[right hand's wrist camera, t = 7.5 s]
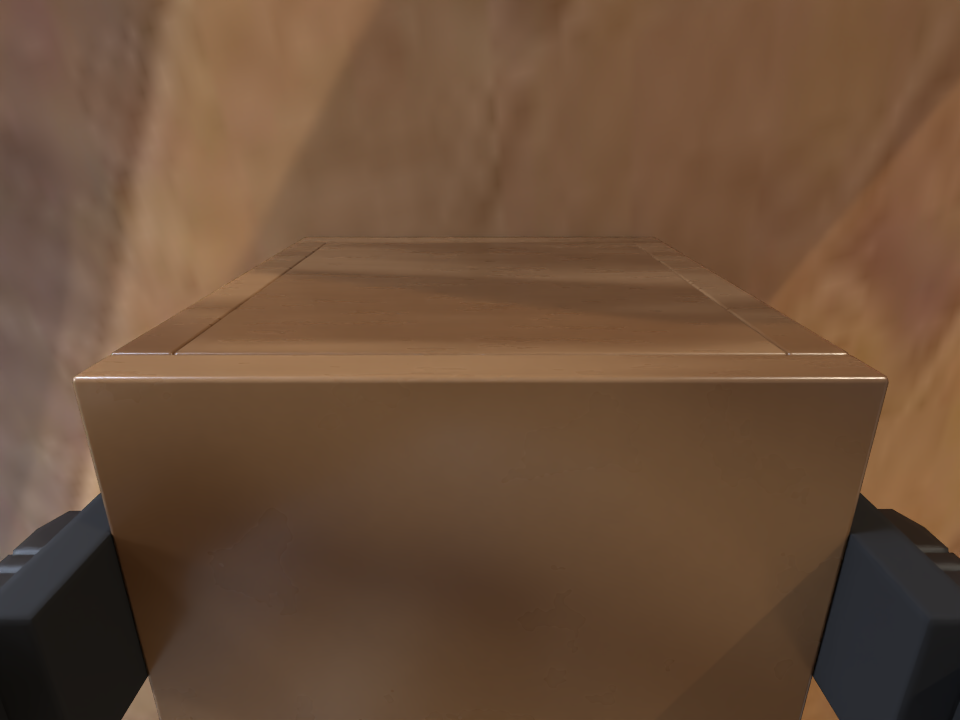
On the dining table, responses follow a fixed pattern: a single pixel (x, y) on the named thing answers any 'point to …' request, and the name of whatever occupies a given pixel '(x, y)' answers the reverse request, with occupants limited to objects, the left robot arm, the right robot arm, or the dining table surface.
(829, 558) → the cabinet
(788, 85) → the dining table surface
